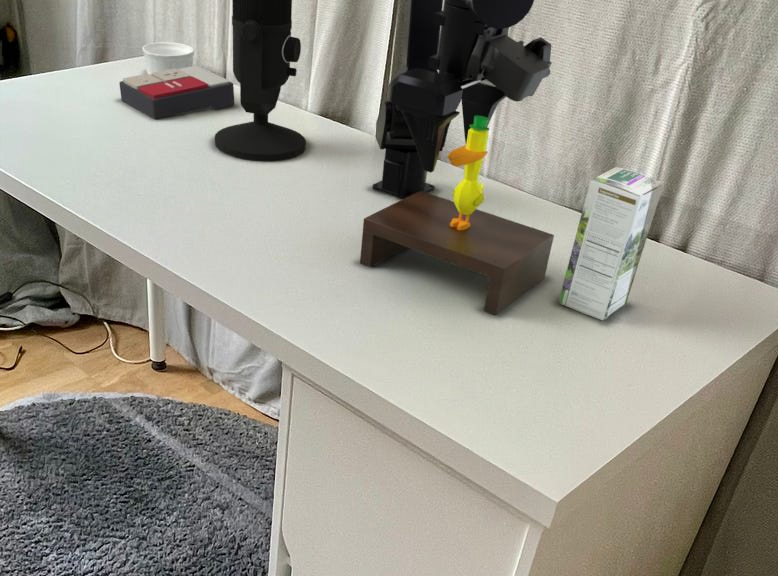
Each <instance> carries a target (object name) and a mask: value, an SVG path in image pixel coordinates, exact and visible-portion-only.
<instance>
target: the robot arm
mask: <svg viewBox="0 0 778 576" xmlns="http://www.w3.org/2000/svg"><path fill="white" fill-rule="evenodd" d="M534 2H535V0H406V4H405V16H404V29H403V44H402V56H401V57H402V58H401V65H400V66H399V68H398V70H397V71H396V73H395V74H394V75H393V77H392V79H391V80H390V82H389V84H388V85H387V90H386V100H383V102H382V104H381V107H380V110H379V113H378V116H377V119H376V122H375V140H376V143H377V145H378V147H379V150H384V160H383V167H382V177H381V180H380V181H377V182H375V183H373V184H372V186H371V187H372V189H373V190H375V191H378V192H380V193H383V194H387V195H390V196H393V197H396V198H398V199H400V200H402V199H405V198H407V197H409V196H411V195H413V194H415V193H417V192H419V191H423V192H426V193H429V194H430V192H433V191H435V188H436V186H435V185H434V184H431V183H429V182H427V174H428V173H433V172H435V169H436V166H437V163H438V159H439V155H440V152H443V150H444V148H445V145H446V140H447V136H448V131H449V129H450V125H451V122H452V120H454V119H455V118H456V117H457V116H459V115H460V113H461V111H458V107H459V106H460V104H461V110H462V121H463V122H462V123H463V133H464V141H465V144H466V143H467V136H468V130H469V129H470V128H471V127H470V125H471V124H474V116H483V117H487V118H489V120H488V123H487V125H486V127H487V128H488V126H489V124H490V122H491V120H492V117H493V116H494V114H495V112H496V109H497V107H498V105H499V104H500V102H501V101H503V100H505V99H506V98H507V99H509V100H511V101H513V102H521V101H523V100H524V99H526V98H528V97H533V96H534V95H535V93H536V92H537V90H538V88H539V87H540V85H541V82H542V81H543V79H545V78H548V77H550V75H551V70H550V68H551V65H552V64H553V62H552V61H551V56H552V55H551V54H552V43H550V42H548V41H547V40H546V39H545V38H543V37H538V38H535V39H532V40H531V41H530V42H528V43H526V44H525V42H524V41H523V40H519V41H516V40H514V39H513V38H512V37H510V36H509V30H510V28H511V27H513V26H516V25H517V24H519V23H520V22H521V21H522V20H524V19H525V17H526V16H527V15H528V14H529V13H530V11H531V9H532V7H533V6H534ZM524 44H525V45H524Z"/></svg>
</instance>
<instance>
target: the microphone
mask: <svg viewBox="0 0 778 576" xmlns="http://www.w3.org/2000/svg"><path fill="white" fill-rule="evenodd" d="M231 1H232V16H231V25H232V72H233V75H234V78H235V79H236V81H237V82H238V84H240V85H239V86H240V87H239V88H240V91H239V96H240V97H239V98H240V99H239V101H240V106H241V108H242V109H243V110H244V111H245V112H246V113H248V114H253V121H248V122H243V123H239V124H233V125H229V126H227V127H223V128H222V129H220V130H218V131H217V132H216V133H215V135H214V145H215V147H216V148H217V149H218V150H219V151H220V152H221V153H223V154H225V155H227V156H230V157H233V158H237V159H241V160H248V161H256V162H258V161H259V162H277V161H283V160H289V159H293V158H296V157H298V156H300V155H302V154H303V153H304V152H305V150H306V149H307V140H306V138H305V136H304V135H302V134H301V132H298V131H296V130H294V129H291V128H289V127H286V126H282V125H279V124H276V123H273V122H269V114H270V113H271V112H272V111H273V110H274V109H275V108H276V106H277V103H278V100H279V97H280V94H281V90H282V86H284V85H286V83H287V82H288V80H289V78H290V77H296V76H297V68H296V67H291V63H298V62H299V60H300V57H301V51H302V44H301V42H302V41H301V39H300V38H299V37H296V36H292V29H293V28H292V27H293V20H292V12H293V10H292V9H293V0H231Z"/></svg>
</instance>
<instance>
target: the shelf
mask: <svg viewBox="0 0 778 576" xmlns="http://www.w3.org/2000/svg"><path fill="white" fill-rule="evenodd" d="M459 213H460V212H459V211H458V210H457V208H456V205H455V203H454V200H450V199H447V198H444V197H441V196H438V195H436V194H432V193H430V192H429V193H426V192H423V191H419V192H417V193H415V194H413V195H411V196H409V197H407V198H405V199H400V200H398V201H396V202H394V203H393V204H391V205H388V206H386V207H384V208H382V209H380V210H378V211H376V212H374V213H372V214H370V215H368V216H366V217H364V218H363V224H362V235H361V248H360V258H359V264H361V265H363V266H367V267H369V268H371V267H374V266H375V265H377V264H378V263H381V262H383V261H384V260H386V259H388V258H389V257H392V256H393V255H395V254H396V253H398V252H400V251H402V250H403V249H405V248H408V249H411V250H414V251H416V252H419V253H422V254H424V255H427V256H430V257H433V258H436V259H439V260H441V261H444V262H446V263H449V264H452V265H455V266H458V267H459V268H463V269H466V270H468V271H471V272H474V273H477V274H479V275H482V276H484V277H487V278H489V279H488V284H487V291H486V296H485V301H484V306H483V311H484V312H485V313H488V314H491V315H493V316H497V315H498V314H499V313H501V312H502V311H503V310H505V309H506V308H507V307H508V306H510V305H511V304H513V303H514V302H515V301H516V300H518V299H519V298H521V297H522V296H524V294H526V293H527V292H529V291H530V290H531V289H533V288H535V286H537V285H539V283H541V282H542V281H543V280H545V277H546V272H547V268H548V264H549V260H550V254H551V251H552V246H553V242H554V238H555V234H552V233H549V232H546V231H544V230H541V229H538V228H534V227H532V226H529V225H526V224H522V223H519V222H516V221H514V220H510V219H508V218H504V217H501V216H498V215H495V214H493V213H489V212H486V211H484V210H480V209H478V208H476V209H475V210H474V212H473V213H472V214H470V216H469V223H470V224H471V225H470V227H468V228H467V229H465V230H458V229H457V227H451V226H450V223H451V221H452V219H453V218H459ZM462 219H463V220H464V221H465V220H466V215H465V214H463V215H462Z"/></svg>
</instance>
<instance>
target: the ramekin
mask: <svg viewBox="0 0 778 576" xmlns="http://www.w3.org/2000/svg"><path fill="white" fill-rule="evenodd" d="M142 53H143V57H144V63H145V71H146V74H150V75H152V74H151V73H154V72H159V71H164V70H169V69H178V70H179V69H181V68H186V67H191V66H193V60H194V55H195V49H194V48H193V47H192V46H190V45H188V44H186V43H185V44H184V43H179V42H173V41H172V42H171V41H156V42H151V43H150V42H149V43H147V44H145V45H143V46H142Z"/></svg>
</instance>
